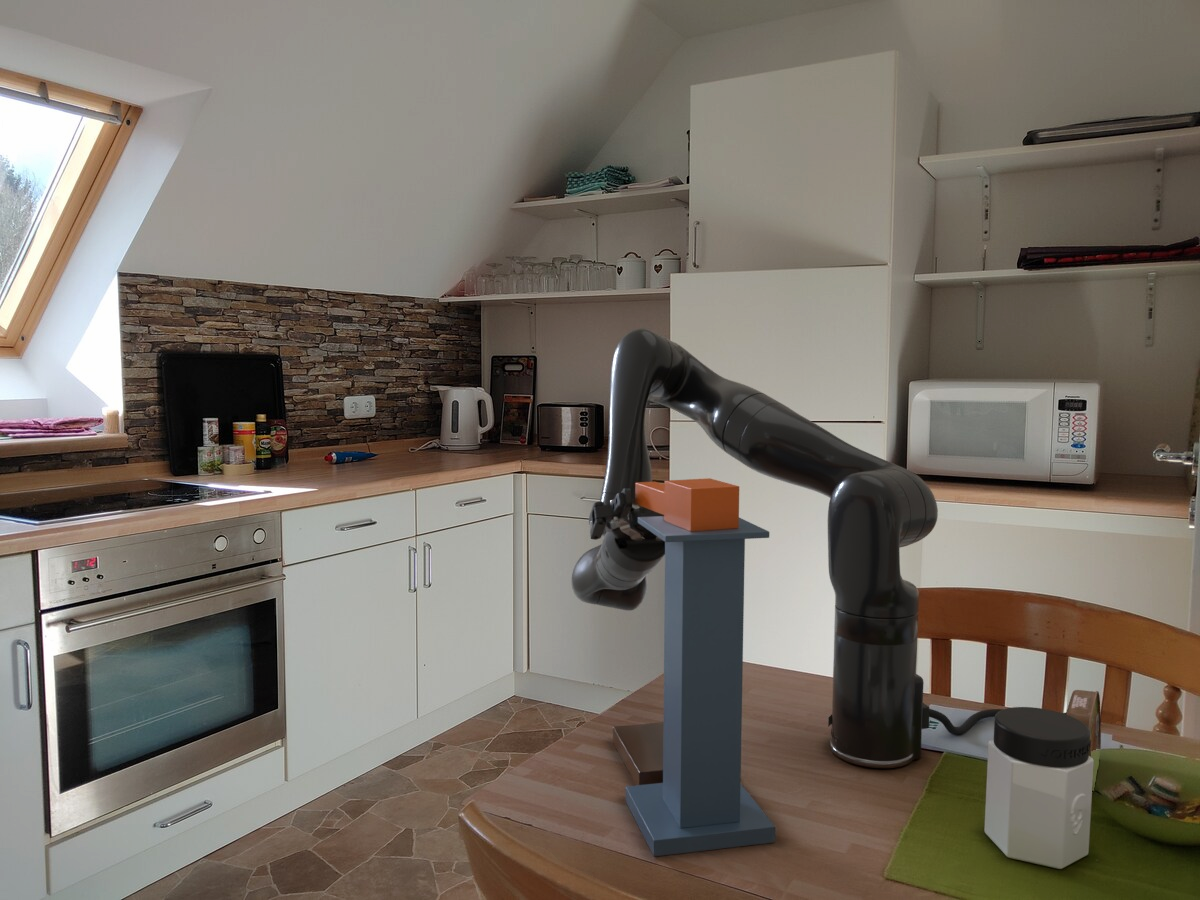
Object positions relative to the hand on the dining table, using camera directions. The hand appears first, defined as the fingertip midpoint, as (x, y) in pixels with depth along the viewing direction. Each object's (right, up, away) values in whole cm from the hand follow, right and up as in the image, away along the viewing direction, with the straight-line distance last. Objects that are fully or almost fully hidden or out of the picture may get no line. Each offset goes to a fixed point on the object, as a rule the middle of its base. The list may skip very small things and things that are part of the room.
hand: (666, 495), depth 100 cm
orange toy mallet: (+1, -2, -7) cm, 7 cm away
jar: (+34, -33, -13) cm, 49 cm away
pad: (0, -31, +5) cm, 31 cm away
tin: (+46, -31, +2) cm, 56 cm away
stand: (+2, -32, -8) cm, 33 cm away
